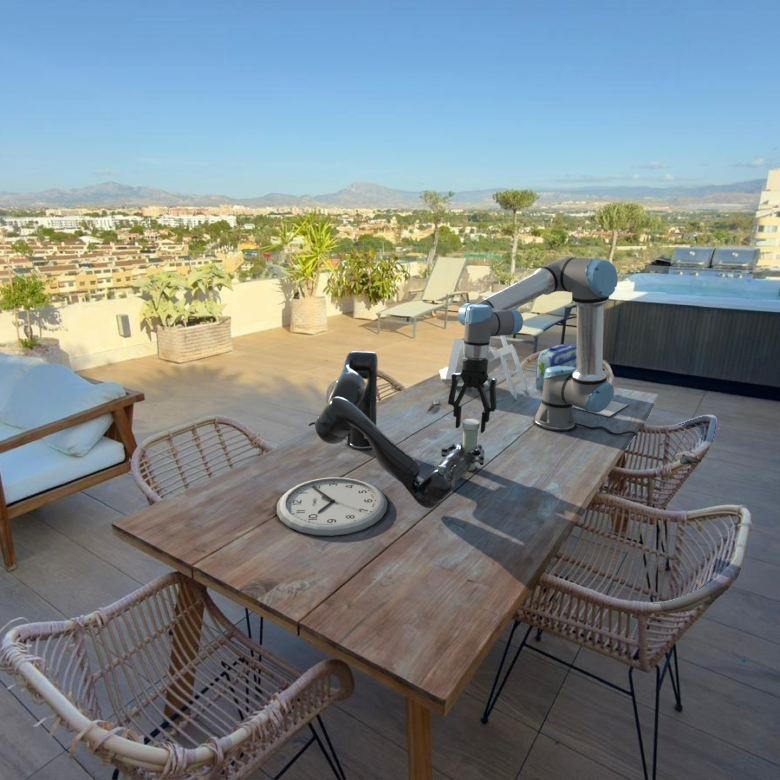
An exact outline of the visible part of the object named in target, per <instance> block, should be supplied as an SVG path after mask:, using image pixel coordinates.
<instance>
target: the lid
mask: <svg viewBox="0 0 780 780" xmlns="http://www.w3.org/2000/svg"><path fill="white" fill-rule="evenodd" d="M480 426H481V421H480V420H478V419H475V418H465V419H463V420H462V428H463V429H466V430H472V431H474V430H478V431H479V429H480Z"/></svg>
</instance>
